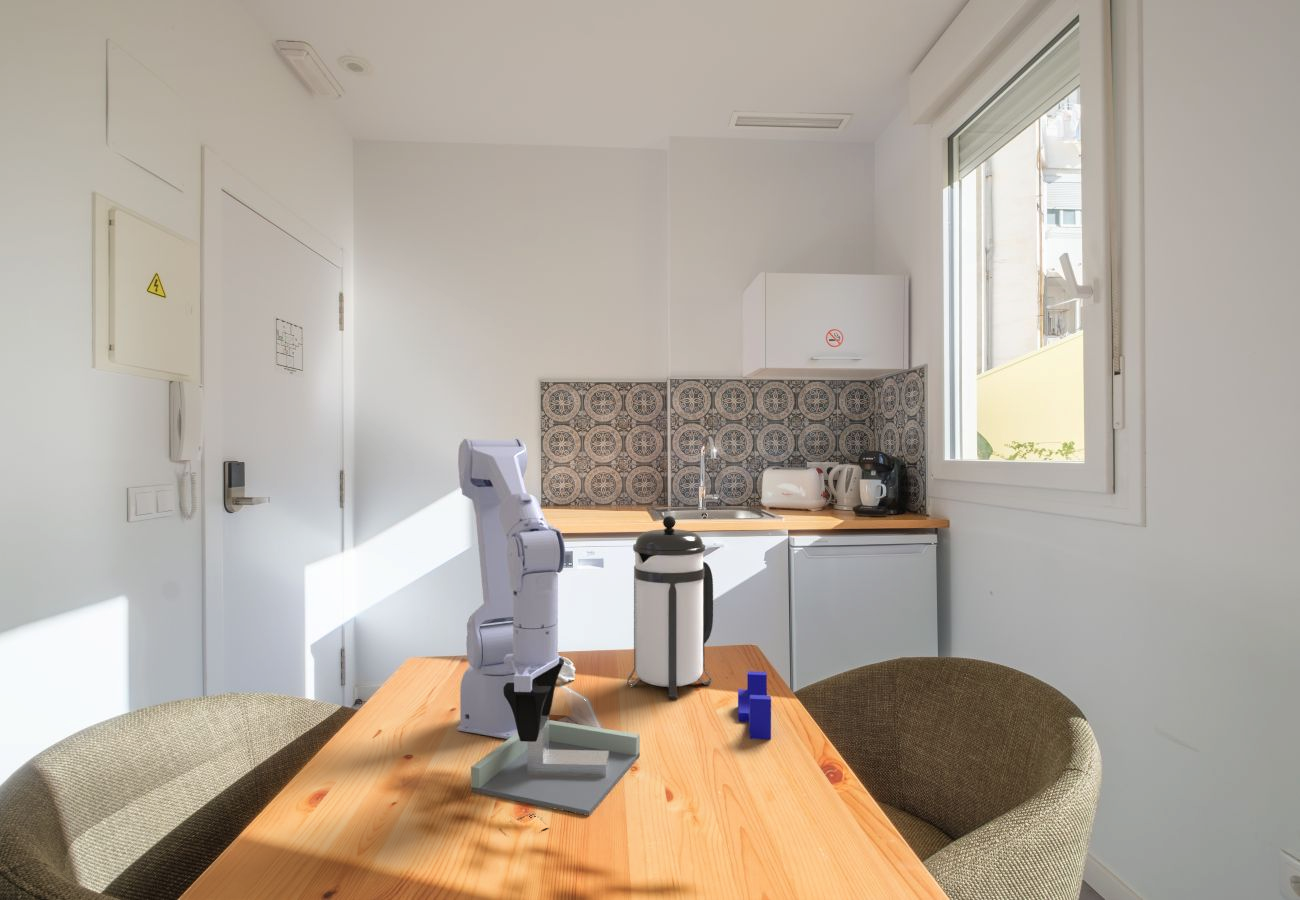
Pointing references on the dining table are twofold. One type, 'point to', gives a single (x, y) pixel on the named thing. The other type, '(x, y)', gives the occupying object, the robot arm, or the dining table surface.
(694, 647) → the coffee press
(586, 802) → the corner tray
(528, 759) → the brushed metal block
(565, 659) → the whipped cream
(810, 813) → the dining table surface
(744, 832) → the dining table surface
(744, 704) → the cable clip
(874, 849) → the dining table surface
